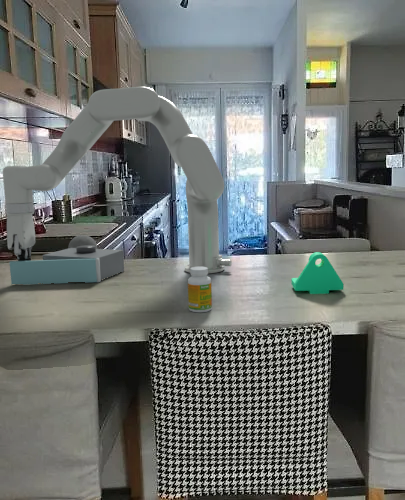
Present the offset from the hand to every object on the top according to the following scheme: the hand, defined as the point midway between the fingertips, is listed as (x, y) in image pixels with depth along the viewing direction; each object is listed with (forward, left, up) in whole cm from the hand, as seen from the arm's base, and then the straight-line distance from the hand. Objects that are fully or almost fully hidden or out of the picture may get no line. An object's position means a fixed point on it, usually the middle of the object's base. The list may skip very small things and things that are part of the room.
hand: (25, 271), depth 141 cm
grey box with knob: (-11, -14, -3) cm, 18 cm away
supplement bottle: (-60, +10, -4) cm, 61 cm away
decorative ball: (+1, -30, -4) cm, 30 cm away
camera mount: (-82, -15, -4) cm, 84 cm away
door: (-10, -1, -3) cm, 10 cm away
